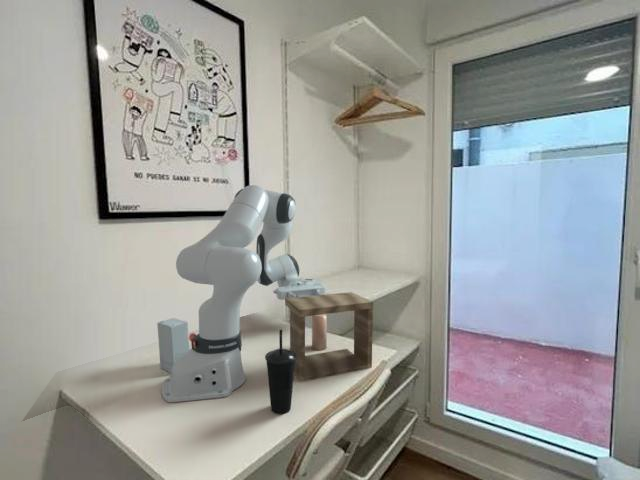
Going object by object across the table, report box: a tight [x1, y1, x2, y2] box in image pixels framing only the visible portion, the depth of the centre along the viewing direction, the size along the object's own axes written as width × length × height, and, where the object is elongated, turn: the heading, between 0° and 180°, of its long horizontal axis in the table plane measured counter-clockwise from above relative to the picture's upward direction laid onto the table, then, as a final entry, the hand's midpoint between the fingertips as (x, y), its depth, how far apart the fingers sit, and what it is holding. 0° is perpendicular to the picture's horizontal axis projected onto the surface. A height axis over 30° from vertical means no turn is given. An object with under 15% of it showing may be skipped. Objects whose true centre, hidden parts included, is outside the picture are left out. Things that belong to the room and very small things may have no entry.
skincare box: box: [156, 317, 190, 374], centre depth 107 cm, size 8×6×15 cm
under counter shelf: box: [284, 291, 374, 382], centre depth 110 cm, size 24×14×21 cm, turn 113°
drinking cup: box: [264, 329, 297, 415], centre depth 85 cm, size 8×8×20 cm
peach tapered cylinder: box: [311, 314, 328, 351], centre depth 124 cm, size 5×5×12 cm
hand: (307, 296), depth 135 cm, fingers open, 8 cm apart
